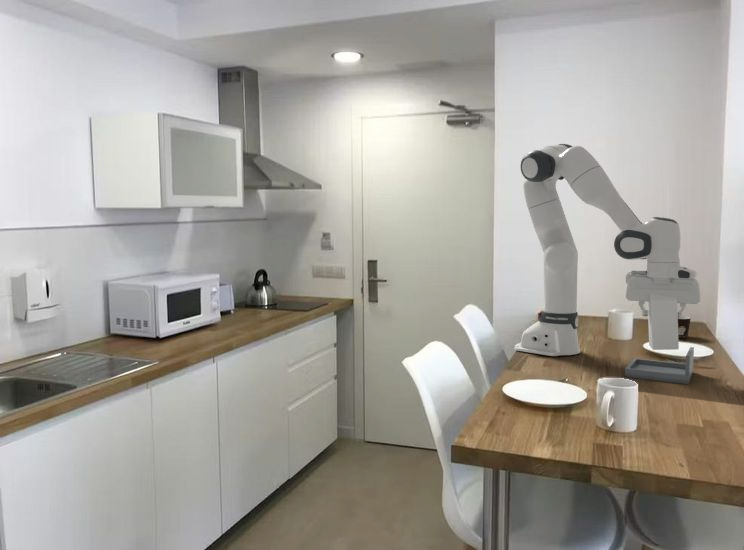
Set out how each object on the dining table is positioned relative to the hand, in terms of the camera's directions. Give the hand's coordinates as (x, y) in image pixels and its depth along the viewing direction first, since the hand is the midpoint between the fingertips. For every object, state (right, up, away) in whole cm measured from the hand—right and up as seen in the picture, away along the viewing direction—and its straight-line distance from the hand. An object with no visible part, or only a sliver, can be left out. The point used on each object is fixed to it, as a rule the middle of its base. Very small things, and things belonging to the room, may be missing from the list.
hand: (661, 317), depth 183 cm
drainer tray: (0, -18, +2) cm, 18 cm away
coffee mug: (+28, -13, +49) cm, 58 cm away
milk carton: (+1, -10, +1) cm, 10 cm away
